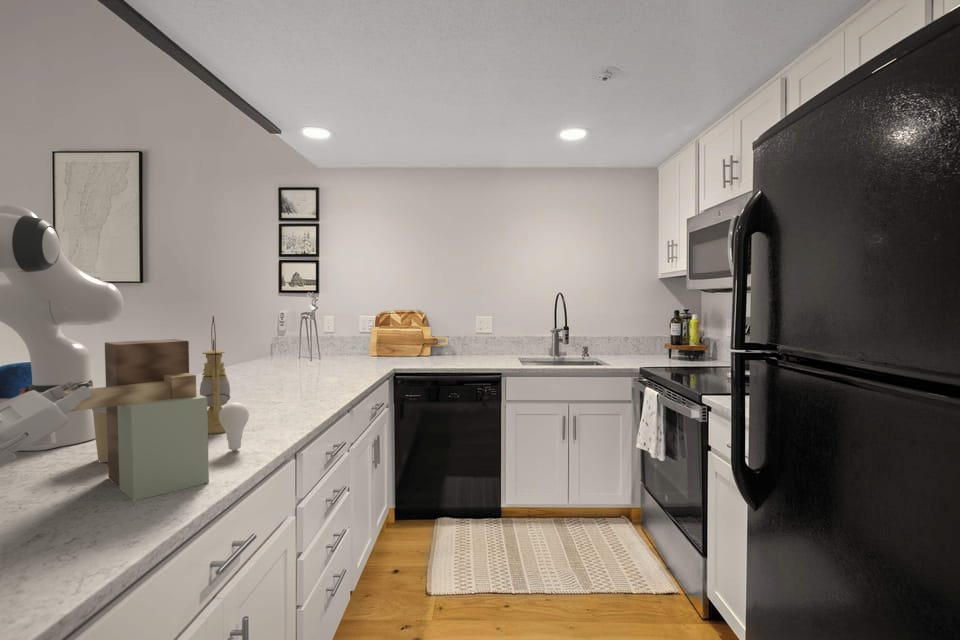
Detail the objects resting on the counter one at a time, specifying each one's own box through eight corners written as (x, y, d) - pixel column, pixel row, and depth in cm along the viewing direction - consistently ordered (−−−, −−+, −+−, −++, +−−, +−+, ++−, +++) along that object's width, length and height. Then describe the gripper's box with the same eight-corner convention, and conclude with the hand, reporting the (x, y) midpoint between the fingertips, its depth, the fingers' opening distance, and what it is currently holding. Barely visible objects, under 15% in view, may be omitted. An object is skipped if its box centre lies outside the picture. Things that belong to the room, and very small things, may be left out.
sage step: (133, 500, 88) (131, 407, 88) (119, 488, 94) (117, 400, 94) (208, 482, 97) (207, 397, 96) (191, 472, 103) (189, 391, 103)
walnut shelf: (119, 488, 94) (115, 344, 93) (108, 478, 100) (104, 342, 99) (191, 471, 103) (188, 340, 102) (177, 463, 109) (174, 339, 108)
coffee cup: (140, 449, 119) (139, 397, 119) (150, 457, 113) (149, 402, 112) (89, 457, 113) (88, 402, 112) (97, 467, 106) (96, 408, 106)
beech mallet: (68, 412, 83) (67, 387, 83) (62, 408, 86) (62, 384, 86) (196, 396, 97) (196, 375, 97) (187, 393, 100) (187, 372, 100)
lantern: (192, 427, 140) (189, 315, 139) (232, 423, 145) (230, 315, 144) (194, 437, 129) (191, 316, 128) (237, 432, 134) (235, 316, 133)
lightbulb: (237, 455, 114) (236, 405, 114) (213, 454, 115) (212, 404, 115) (255, 447, 120) (254, 400, 120) (231, 446, 121) (230, 399, 121)
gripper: (-26, 438, 69) (83, 376, 78) (-37, 416, 83) (57, 366, 92) (7, 473, 72) (110, 410, 80) (-9, 446, 86) (80, 394, 94)
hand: (81, 386), depth 86 cm, fingers open, 8 cm apart
